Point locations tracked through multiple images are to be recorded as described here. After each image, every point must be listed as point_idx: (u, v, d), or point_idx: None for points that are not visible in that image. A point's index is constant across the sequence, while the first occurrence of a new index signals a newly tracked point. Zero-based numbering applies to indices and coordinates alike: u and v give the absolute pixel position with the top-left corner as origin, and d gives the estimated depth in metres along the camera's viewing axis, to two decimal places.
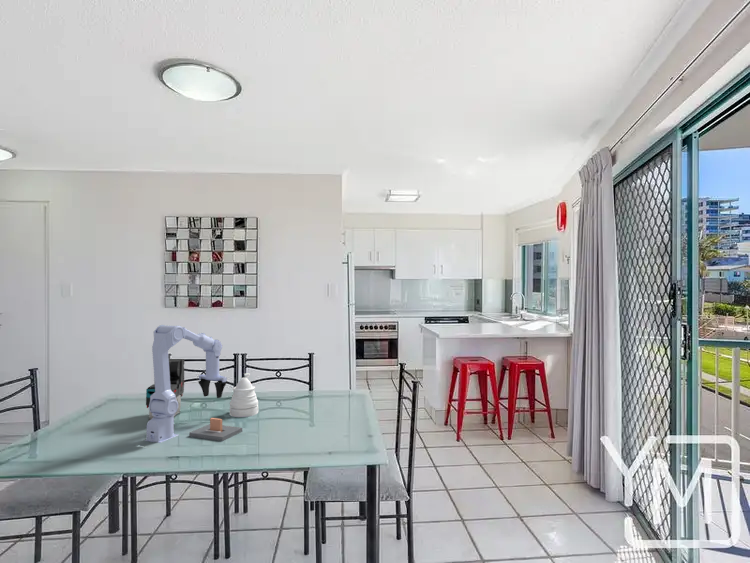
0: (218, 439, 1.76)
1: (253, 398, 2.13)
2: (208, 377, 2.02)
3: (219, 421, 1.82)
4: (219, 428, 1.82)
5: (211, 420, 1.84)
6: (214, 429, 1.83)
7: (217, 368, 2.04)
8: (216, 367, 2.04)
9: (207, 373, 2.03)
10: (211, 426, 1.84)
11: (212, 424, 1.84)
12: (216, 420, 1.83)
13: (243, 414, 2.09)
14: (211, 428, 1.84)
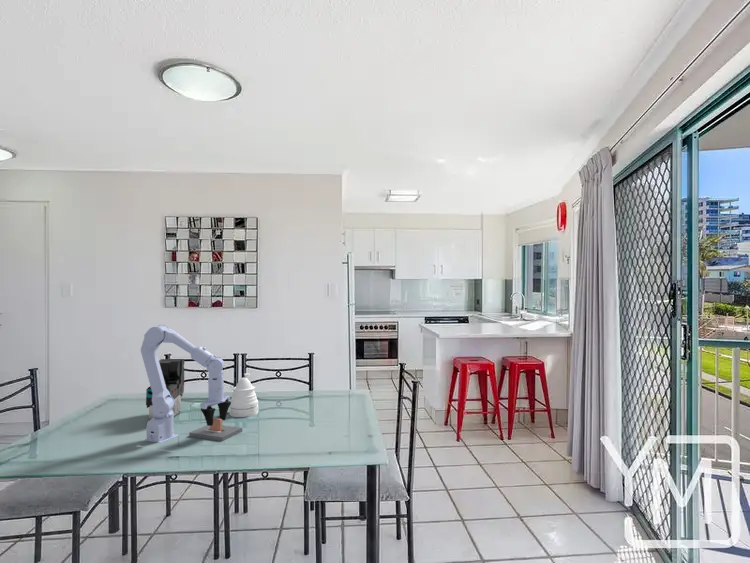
0: (218, 439, 1.76)
1: (253, 398, 2.13)
2: None
3: (219, 421, 1.82)
4: (219, 428, 1.82)
5: None
6: (214, 429, 1.83)
7: (211, 392, 1.81)
8: (210, 390, 1.81)
9: None
10: (211, 426, 1.84)
11: None
12: (216, 420, 1.83)
13: (243, 414, 2.09)
14: (211, 428, 1.84)
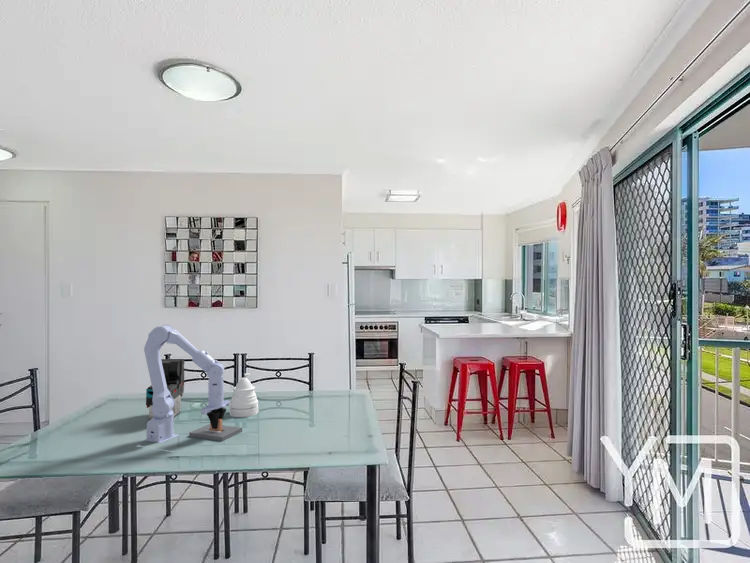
0: (218, 439, 1.76)
1: (253, 398, 2.13)
2: None
3: (219, 421, 1.82)
4: (219, 428, 1.82)
5: None
6: (214, 429, 1.83)
7: (211, 397, 1.81)
8: (210, 395, 1.81)
9: None
10: (211, 426, 1.84)
11: None
12: None
13: (243, 414, 2.09)
14: (211, 428, 1.84)
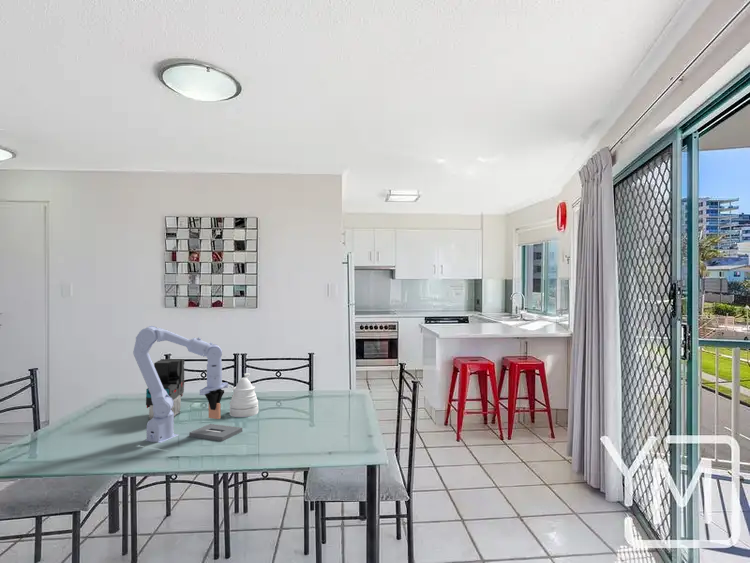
0: (218, 439, 1.76)
1: (253, 398, 2.13)
2: None
3: (217, 405, 1.84)
4: (217, 412, 1.84)
5: None
6: (213, 413, 1.85)
7: (209, 378, 1.83)
8: (208, 377, 1.83)
9: None
10: (209, 410, 1.86)
11: None
12: None
13: (243, 414, 2.09)
14: (209, 412, 1.86)
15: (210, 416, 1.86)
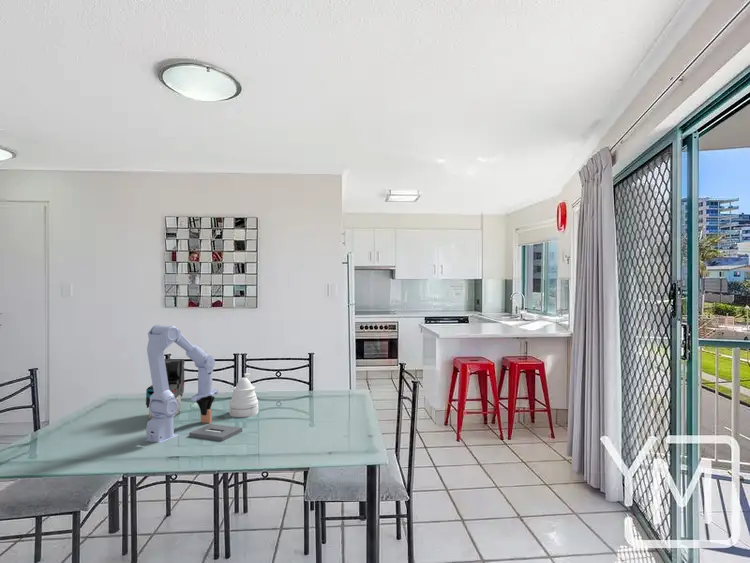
0: (218, 439, 1.76)
1: (253, 398, 2.13)
2: None
3: (209, 412, 1.98)
4: (209, 418, 1.98)
5: None
6: (204, 419, 1.99)
7: (200, 386, 1.97)
8: (199, 384, 1.97)
9: None
10: (201, 416, 1.99)
11: None
12: None
13: (243, 414, 2.09)
14: (201, 418, 1.99)
15: None
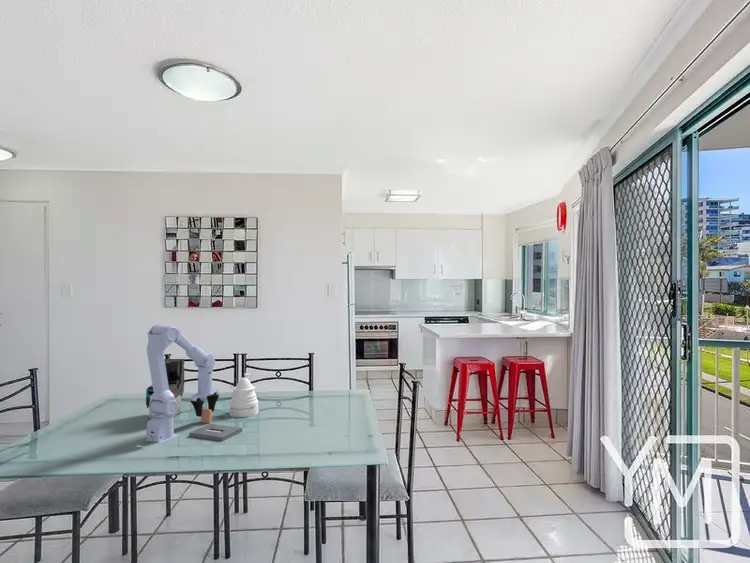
0: (218, 439, 1.76)
1: (253, 398, 2.13)
2: None
3: (209, 412, 1.98)
4: (209, 418, 1.98)
5: None
6: (204, 419, 1.99)
7: (200, 385, 1.97)
8: (199, 384, 1.97)
9: None
10: (202, 416, 1.99)
11: (202, 414, 1.99)
12: (206, 411, 1.98)
13: (243, 414, 2.09)
14: (201, 418, 1.99)
15: None
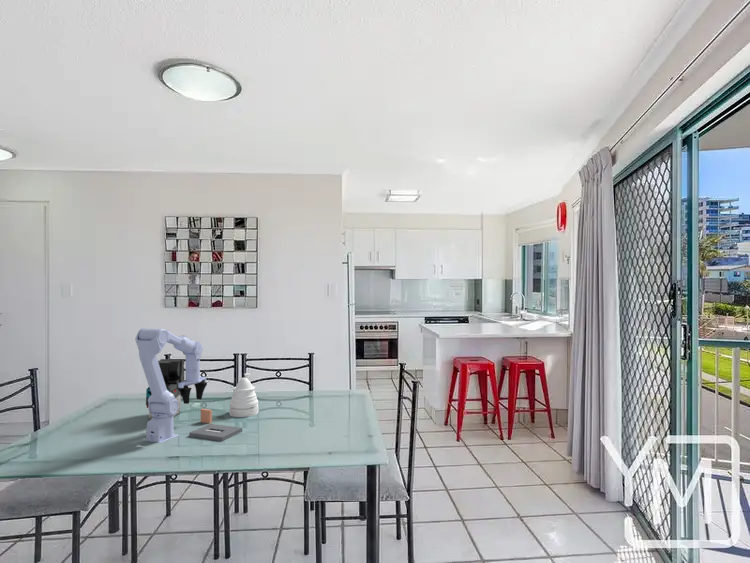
0: (218, 439, 1.76)
1: (253, 398, 2.13)
2: None
3: (209, 412, 1.98)
4: (209, 418, 1.98)
5: (201, 411, 1.99)
6: (204, 419, 1.99)
7: (188, 372, 1.95)
8: (187, 371, 1.96)
9: None
10: (202, 416, 1.99)
11: (202, 414, 1.99)
12: (206, 411, 1.98)
13: (243, 414, 2.09)
14: (201, 418, 1.99)
15: None
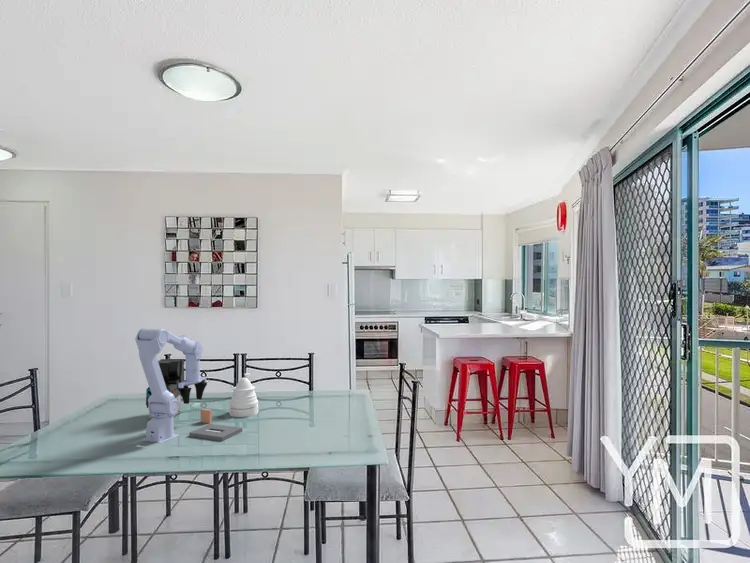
0: (218, 439, 1.76)
1: (253, 398, 2.13)
2: None
3: (209, 412, 1.98)
4: (209, 418, 1.98)
5: (201, 411, 1.99)
6: (204, 419, 1.99)
7: (188, 372, 1.95)
8: (187, 371, 1.96)
9: None
10: (201, 416, 1.99)
11: (202, 414, 1.99)
12: (206, 411, 1.98)
13: (243, 414, 2.09)
14: (201, 418, 1.99)
15: None
